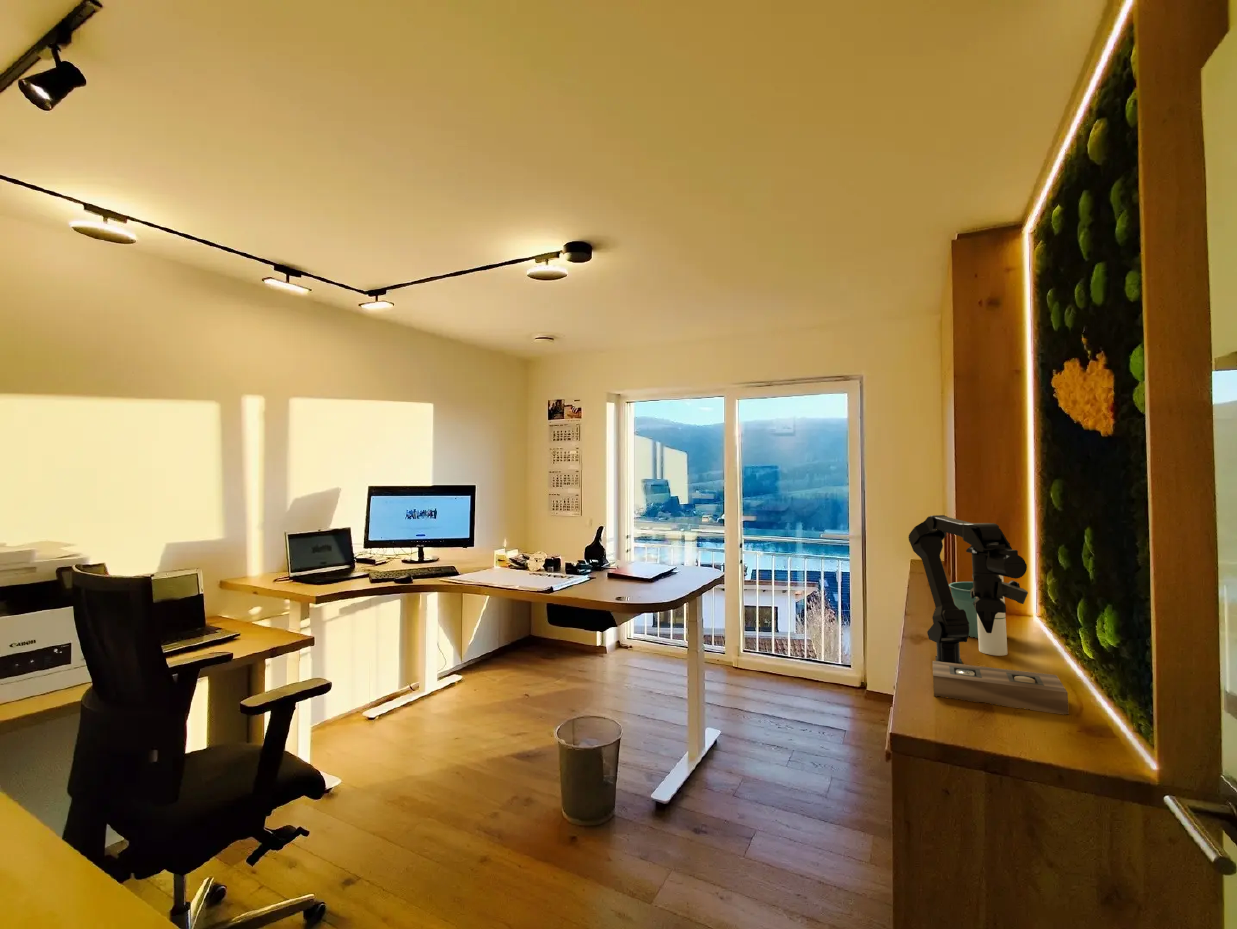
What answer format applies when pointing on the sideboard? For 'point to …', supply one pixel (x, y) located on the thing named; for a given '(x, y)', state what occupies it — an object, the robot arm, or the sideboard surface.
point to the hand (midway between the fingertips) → (988, 632)
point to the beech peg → (1024, 679)
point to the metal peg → (965, 672)
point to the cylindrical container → (993, 635)
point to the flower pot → (966, 604)
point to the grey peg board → (1000, 687)
